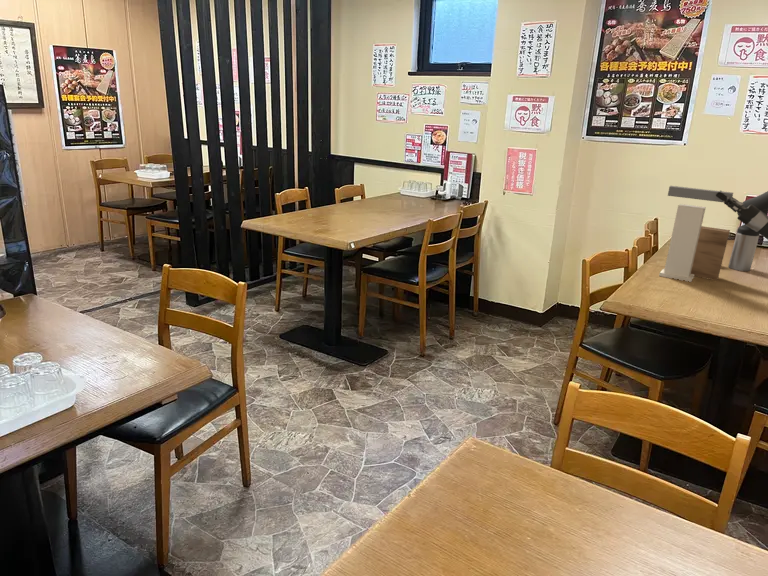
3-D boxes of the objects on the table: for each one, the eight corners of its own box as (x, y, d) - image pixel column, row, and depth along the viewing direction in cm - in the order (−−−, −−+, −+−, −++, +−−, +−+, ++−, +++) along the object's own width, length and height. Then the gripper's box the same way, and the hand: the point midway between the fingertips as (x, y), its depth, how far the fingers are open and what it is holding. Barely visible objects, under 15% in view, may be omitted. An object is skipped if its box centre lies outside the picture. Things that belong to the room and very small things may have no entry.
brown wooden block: (674, 269, 266) (684, 223, 259) (718, 277, 256) (730, 230, 249) (671, 272, 261) (682, 225, 254) (717, 280, 252) (728, 232, 245)
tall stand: (662, 271, 261) (677, 203, 251) (693, 277, 254) (710, 207, 244) (659, 275, 254) (673, 205, 244) (690, 282, 247) (707, 209, 237)
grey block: (669, 194, 250) (671, 185, 248) (731, 202, 237) (733, 192, 236) (667, 195, 246) (669, 186, 245) (730, 203, 234) (732, 193, 232)
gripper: (762, 208, 236) (726, 184, 241) (760, 213, 224) (723, 187, 230) (747, 222, 240) (712, 198, 245) (745, 227, 228) (709, 201, 234)
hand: (718, 193), depth 237 cm, fingers closed on grey block, 4 cm apart
